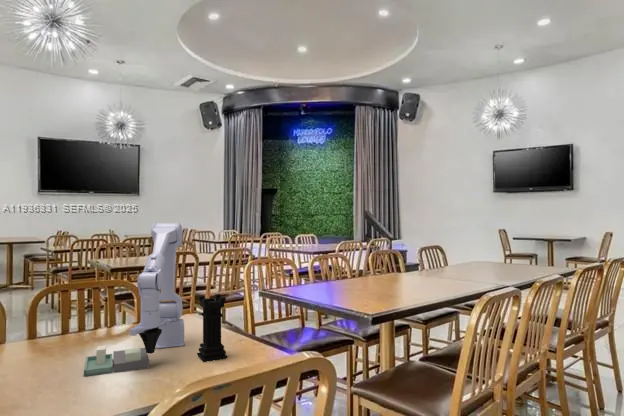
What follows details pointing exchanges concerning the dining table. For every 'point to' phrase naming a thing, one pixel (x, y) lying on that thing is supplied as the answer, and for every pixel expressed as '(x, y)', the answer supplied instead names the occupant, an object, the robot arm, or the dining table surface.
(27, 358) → the dining table surface
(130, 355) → the sage tile
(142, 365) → the charcoal board
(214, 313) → the chess piece
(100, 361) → the cream tile
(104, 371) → the tray
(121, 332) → the dining table surface
